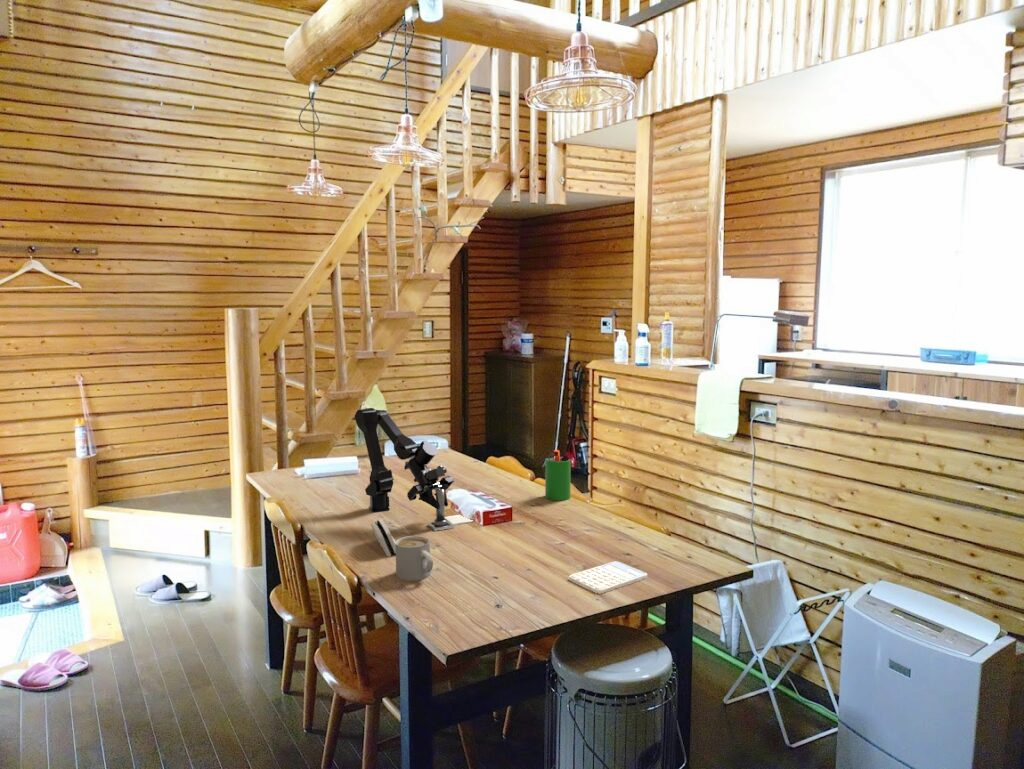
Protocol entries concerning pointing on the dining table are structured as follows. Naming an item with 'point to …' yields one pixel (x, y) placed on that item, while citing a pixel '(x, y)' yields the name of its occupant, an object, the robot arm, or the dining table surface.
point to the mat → (457, 519)
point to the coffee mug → (413, 558)
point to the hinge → (384, 537)
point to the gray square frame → (431, 525)
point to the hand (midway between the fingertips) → (443, 507)
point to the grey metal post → (440, 509)
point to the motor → (557, 478)
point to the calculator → (607, 577)
